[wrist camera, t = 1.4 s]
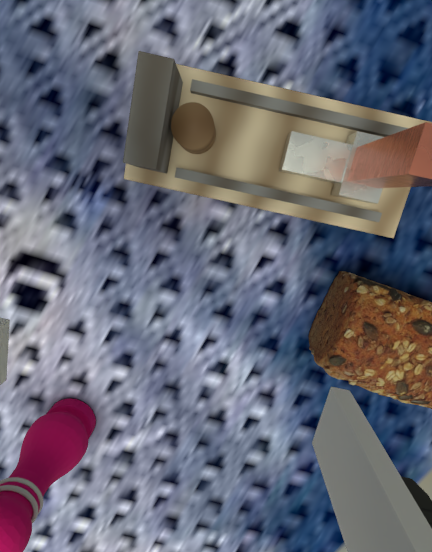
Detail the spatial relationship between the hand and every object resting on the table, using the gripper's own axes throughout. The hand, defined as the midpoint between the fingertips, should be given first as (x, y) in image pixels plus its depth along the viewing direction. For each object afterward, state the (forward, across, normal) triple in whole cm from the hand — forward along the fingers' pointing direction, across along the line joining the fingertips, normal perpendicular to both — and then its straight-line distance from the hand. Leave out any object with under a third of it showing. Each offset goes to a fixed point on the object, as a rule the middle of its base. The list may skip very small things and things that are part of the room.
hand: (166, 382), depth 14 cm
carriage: (+25, +11, +13) cm, 30 cm away
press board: (+27, +5, +12) cm, 30 cm away
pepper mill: (+26, -13, -25) cm, 39 cm away
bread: (+27, +24, -4) cm, 36 cm away
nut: (+26, -4, +13) cm, 29 cm away
